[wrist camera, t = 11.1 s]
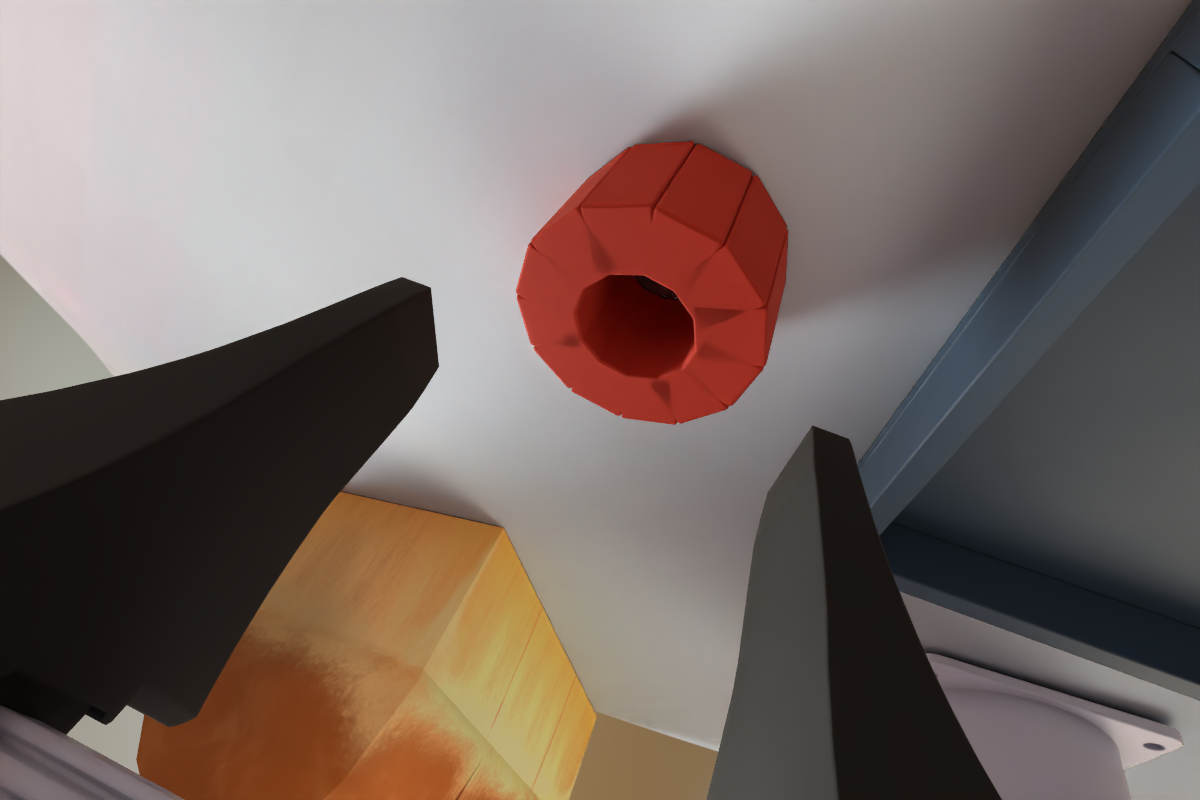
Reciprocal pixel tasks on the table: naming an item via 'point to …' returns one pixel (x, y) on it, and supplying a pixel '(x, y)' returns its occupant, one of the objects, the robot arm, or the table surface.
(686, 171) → the ring
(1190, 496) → the tray
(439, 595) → the bread
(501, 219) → the table surface
